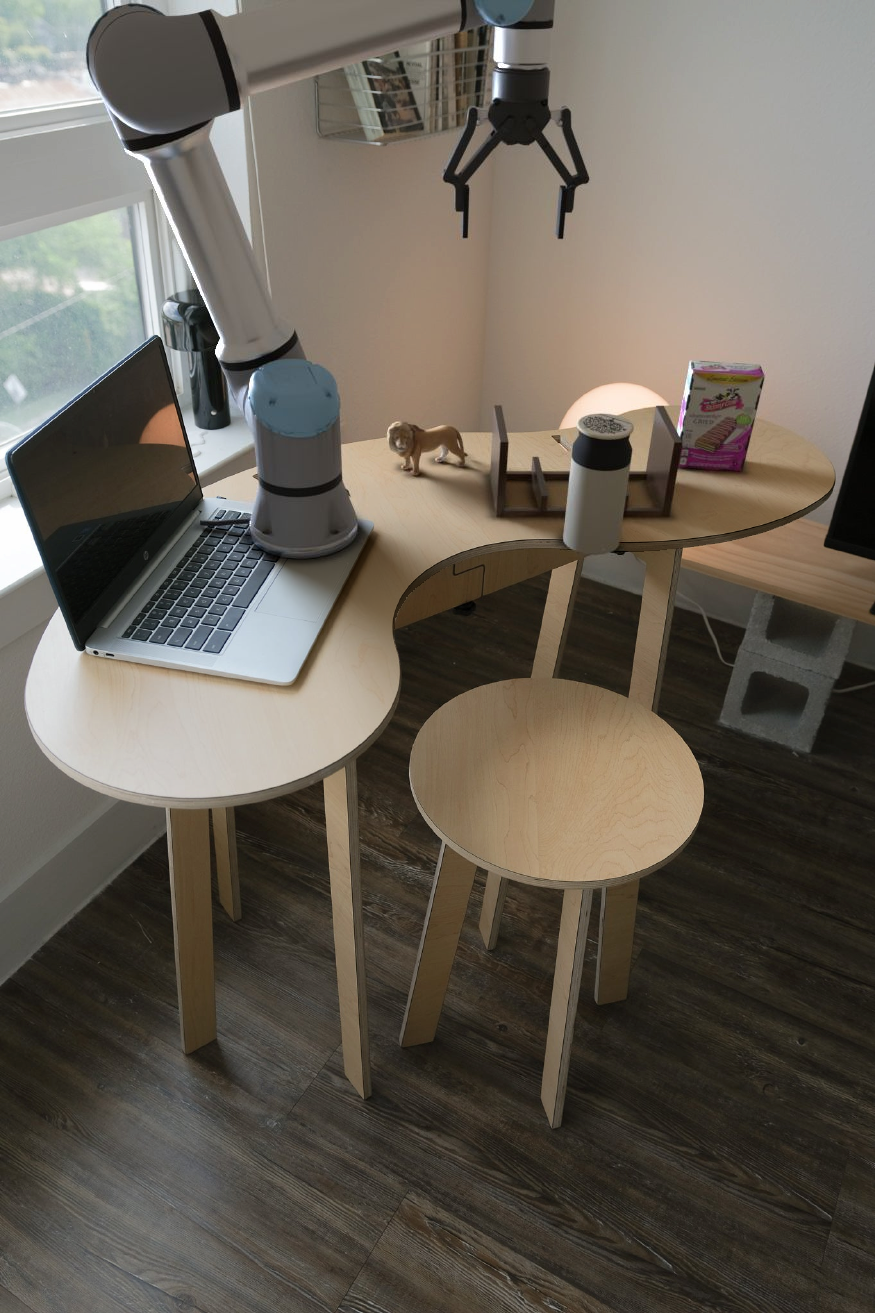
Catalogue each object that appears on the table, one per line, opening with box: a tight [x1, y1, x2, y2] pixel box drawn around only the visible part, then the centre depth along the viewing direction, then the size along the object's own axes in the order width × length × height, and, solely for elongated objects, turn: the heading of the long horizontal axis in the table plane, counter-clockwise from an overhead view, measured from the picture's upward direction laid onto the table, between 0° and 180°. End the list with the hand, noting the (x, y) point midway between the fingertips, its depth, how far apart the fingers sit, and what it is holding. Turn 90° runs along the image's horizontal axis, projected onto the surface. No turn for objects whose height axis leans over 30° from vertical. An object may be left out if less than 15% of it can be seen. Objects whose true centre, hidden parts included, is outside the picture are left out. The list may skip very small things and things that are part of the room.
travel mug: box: [562, 413, 635, 556], centre depth 138 cm, size 8×8×18 cm
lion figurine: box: [386, 420, 469, 476], centre depth 158 cm, size 15×5×9 cm, turn 121°
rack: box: [489, 404, 683, 518], centre depth 151 cm, size 26×13×12 cm, turn 92°
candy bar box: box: [676, 360, 766, 472], centre depth 159 cm, size 11×5×16 cm, turn 84°
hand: (512, 236), depth 143 cm, fingers open, 13 cm apart
